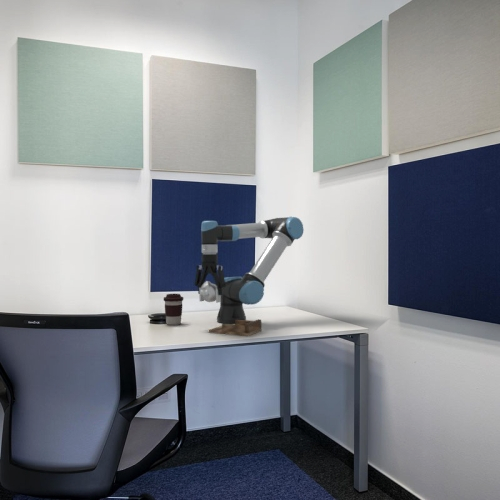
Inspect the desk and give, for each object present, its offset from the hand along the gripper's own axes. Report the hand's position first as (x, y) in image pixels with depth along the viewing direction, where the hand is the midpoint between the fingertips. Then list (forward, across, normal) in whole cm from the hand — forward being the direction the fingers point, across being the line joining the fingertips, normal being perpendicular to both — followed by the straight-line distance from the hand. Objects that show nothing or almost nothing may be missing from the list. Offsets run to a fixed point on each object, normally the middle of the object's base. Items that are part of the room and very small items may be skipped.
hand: (210, 301), depth 222 cm
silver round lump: (0, 0, 0) cm, 0 cm away
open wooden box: (+13, +13, +2) cm, 19 cm away
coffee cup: (+13, -26, +4) cm, 29 cm away
